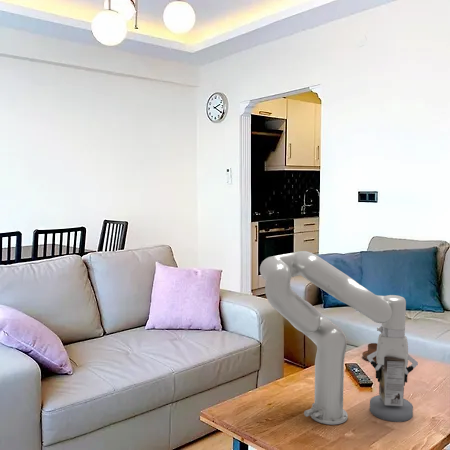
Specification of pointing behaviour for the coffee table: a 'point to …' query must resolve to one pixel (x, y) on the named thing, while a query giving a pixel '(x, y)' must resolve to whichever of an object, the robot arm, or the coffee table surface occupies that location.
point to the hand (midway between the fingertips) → (391, 382)
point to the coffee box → (392, 381)
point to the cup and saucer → (370, 350)
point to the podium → (391, 410)
